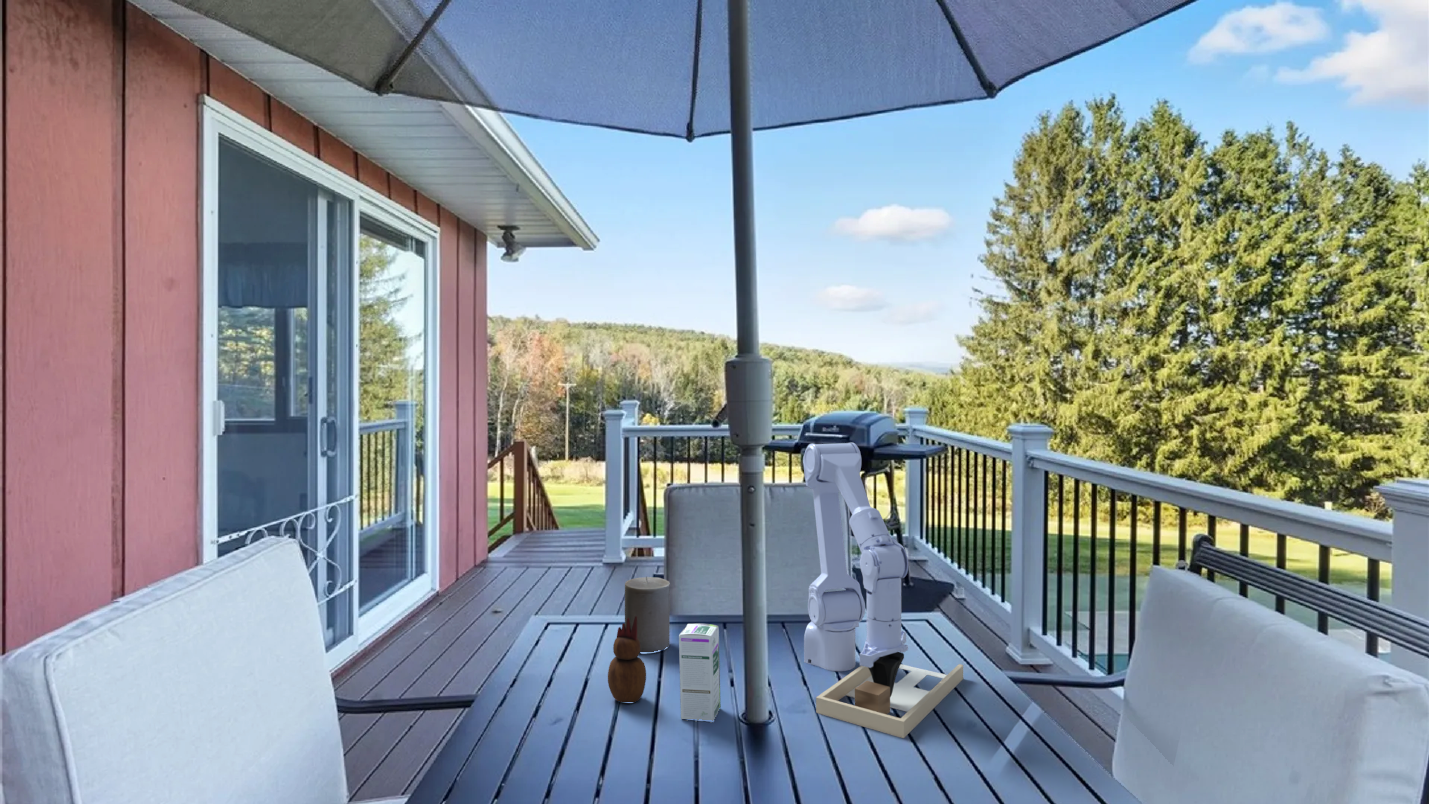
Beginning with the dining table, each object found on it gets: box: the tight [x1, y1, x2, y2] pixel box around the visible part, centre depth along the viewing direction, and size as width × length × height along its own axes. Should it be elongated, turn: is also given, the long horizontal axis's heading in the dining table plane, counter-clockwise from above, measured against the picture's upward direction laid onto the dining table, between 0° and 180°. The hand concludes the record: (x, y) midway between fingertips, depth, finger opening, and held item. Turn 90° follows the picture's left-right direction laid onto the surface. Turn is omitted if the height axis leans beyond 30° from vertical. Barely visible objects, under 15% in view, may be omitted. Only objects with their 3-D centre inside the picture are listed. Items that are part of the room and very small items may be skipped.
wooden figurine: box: [607, 616, 647, 703], centre depth 128 cm, size 7×6×15 cm
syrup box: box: [678, 623, 721, 721], centre depth 122 cm, size 6×6×14 cm
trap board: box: [815, 663, 964, 739], centre depth 126 cm, size 15×28×4 cm, turn 143°
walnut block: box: [854, 681, 891, 715], centre depth 119 cm, size 4×4×4 cm
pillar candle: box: [624, 576, 671, 652], centre depth 155 cm, size 10×10×15 cm
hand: (884, 696), depth 123 cm, fingers closed
